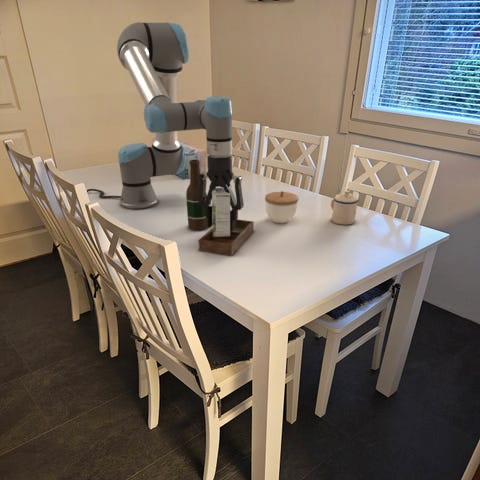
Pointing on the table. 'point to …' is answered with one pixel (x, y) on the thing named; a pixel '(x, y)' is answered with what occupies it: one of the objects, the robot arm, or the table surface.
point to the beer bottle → (195, 200)
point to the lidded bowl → (281, 206)
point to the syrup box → (220, 212)
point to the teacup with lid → (344, 208)
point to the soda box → (192, 158)
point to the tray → (227, 239)
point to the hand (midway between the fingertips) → (221, 227)
